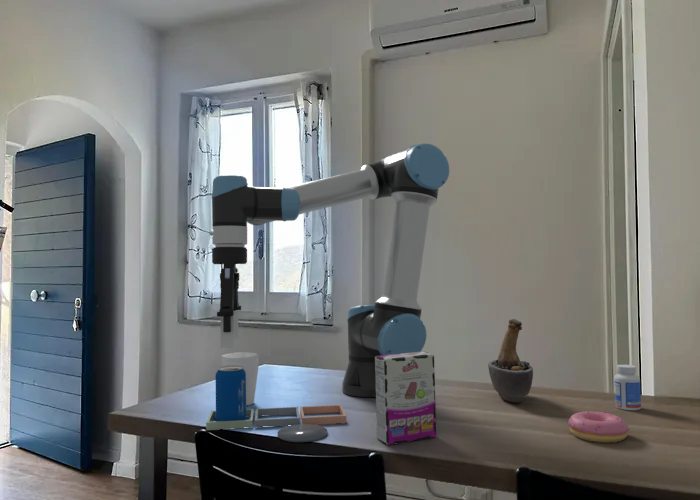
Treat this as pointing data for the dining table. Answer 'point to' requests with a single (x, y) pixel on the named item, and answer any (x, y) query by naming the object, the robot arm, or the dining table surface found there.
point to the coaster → (302, 433)
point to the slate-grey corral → (279, 420)
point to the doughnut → (598, 426)
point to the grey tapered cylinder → (250, 367)
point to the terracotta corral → (322, 419)
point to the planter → (511, 368)
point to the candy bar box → (405, 397)
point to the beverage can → (230, 393)
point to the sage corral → (229, 422)
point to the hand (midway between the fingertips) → (230, 343)
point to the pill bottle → (627, 388)
